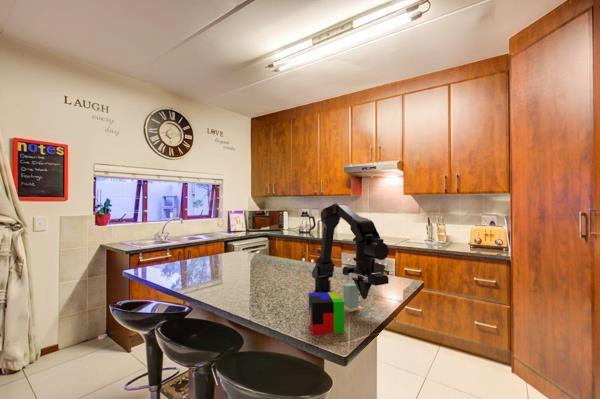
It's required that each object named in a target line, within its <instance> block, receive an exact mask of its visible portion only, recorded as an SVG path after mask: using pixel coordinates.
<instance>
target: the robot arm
mask: <svg viewBox="0 0 600 399" xmlns="http://www.w3.org/2000/svg"><path fill="white" fill-rule="evenodd" d="M341 219H343V220H344V221H345V222H346V223H347V224H348V225H349V226H350V231H351V233H352V234H353V235H354V236H355V237H353V239H352V242H355V257H353V258H352V260H353V261H354V262H355V265H354V264H353V265H348V266H347V265H345V266H344V267H343V268H342V275H344V276H349V275H350V274H351V275H353V277H351V280H352V281H353V282H354V284H355V285H356V286H357V288H358V293H359V294H360V296H361V298H362V299H363V300H366V299H367V297H368V295H369V292H370V290H371V287H372V285H373V286H382V285H387V284H389V282H390V280H389V276H388V275H387V274H384V273H385V269H386V265H385V264H382V263H379V262H376V260H377V261H378V260H379V261H384V260H385V259H387V257H388V256H389V252H390V249H389V247H388V245H387V244H386V243H384V238H381V236H380V233H379V232H378V230H377V228H376V225H375V223H374V221H372V220H371V219H369V218H367V217H362V216H360V215H358V214H357V213H356V212H355V211H354V210H352V209H351V208H350V207H348V205H347V203H345V202H335V203H333V204H332V205H329V206H327V207H325V208H323V209H322V210H321V211H320V221H321V222H320V223H322V225H323V229H322V230H323V231H322V241H321V248H320V254H319V255H320V256H318V258H317V259H316V261H315V266H314V268H313V269H312V272H311V277H312V278H313V279H314V281H315V282H314V286H315V288H314V290H313V291H314V292H313V293H328V292H330V290H332V289H331V288H332V283H331V282H332V280H331V279H330V278H333V276H334V271H335V263H334V262H333V259H332V254H333V253H332V252H333V244H334V243H333V242H334V238H335V237H334V236H335V230H336V228H337V227H338V225H339V224H340V221H341Z"/></svg>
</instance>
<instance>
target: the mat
mask: <svg viewBox="0 0 600 399" xmlns="http://www.w3.org/2000/svg"><path fill="white" fill-rule="evenodd" d="M341 298H342V297H341ZM342 300H343V301H344V297H343V298H342ZM365 309H366V307H363V306H362V305H359V310H355V311H348V310H346V309H345V308H344V315H345V314H349V313H353V312H357V311H362V310H365Z"/></svg>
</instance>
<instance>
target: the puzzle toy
mask: <svg viewBox="0 0 600 399" xmlns="http://www.w3.org/2000/svg"><path fill="white" fill-rule="evenodd" d="M308 322H309V326H310V329H311V334H312V336H327V334H341V333H342V334H343V333H346V332H345V314H344V301H343V300H342V297H341V295H340V294H339V292H338V291H337V292H336V291H334V292H332V291H331V292H330V291H329V292H328V293H324V292H309V293H308Z"/></svg>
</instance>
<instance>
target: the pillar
mask: <svg viewBox="0 0 600 399" xmlns="http://www.w3.org/2000/svg"><path fill="white" fill-rule="evenodd" d="M343 298H344V308H345V309H346V310H348V311H353V312H356V311H355V310H358V311H360V310H359V306H360V305H359V302H360V301H359V290H358V288H357V286H356V284H355V283H351V282H350V283H346V284H343Z"/></svg>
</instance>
